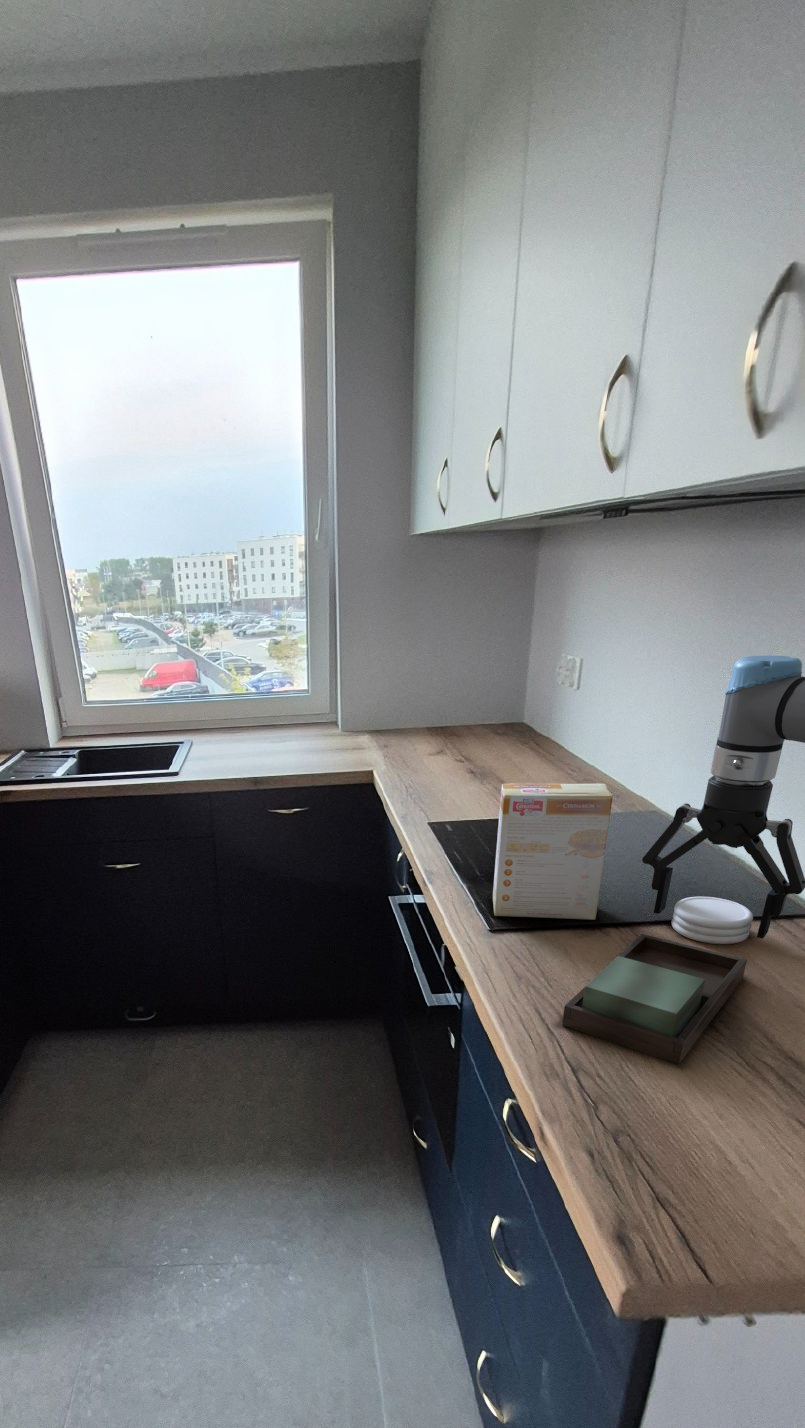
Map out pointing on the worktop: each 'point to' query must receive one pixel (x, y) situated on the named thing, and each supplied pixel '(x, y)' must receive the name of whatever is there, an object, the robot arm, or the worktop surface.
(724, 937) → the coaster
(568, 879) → the coffeecake box
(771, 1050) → the worktop surface
